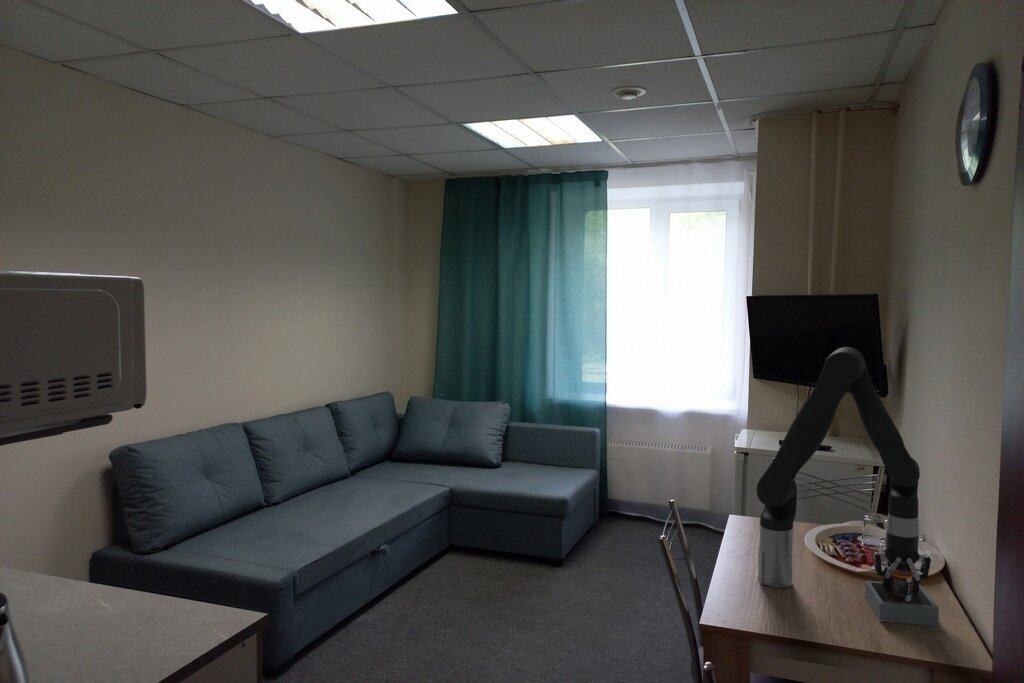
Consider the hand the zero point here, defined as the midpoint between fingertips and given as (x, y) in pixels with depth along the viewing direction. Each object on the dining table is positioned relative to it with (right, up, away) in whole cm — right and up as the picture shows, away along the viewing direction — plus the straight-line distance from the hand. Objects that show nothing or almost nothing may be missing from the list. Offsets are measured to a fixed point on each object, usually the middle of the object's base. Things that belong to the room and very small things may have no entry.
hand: (900, 591), depth 191 cm
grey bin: (0, -6, +1) cm, 6 cm away
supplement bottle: (0, -3, 0) cm, 3 cm away
